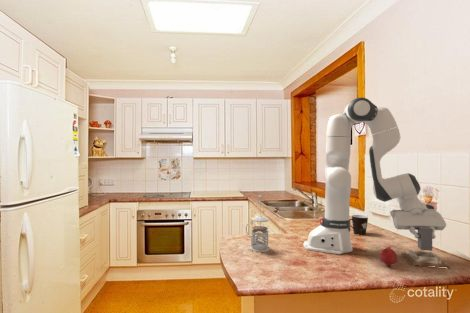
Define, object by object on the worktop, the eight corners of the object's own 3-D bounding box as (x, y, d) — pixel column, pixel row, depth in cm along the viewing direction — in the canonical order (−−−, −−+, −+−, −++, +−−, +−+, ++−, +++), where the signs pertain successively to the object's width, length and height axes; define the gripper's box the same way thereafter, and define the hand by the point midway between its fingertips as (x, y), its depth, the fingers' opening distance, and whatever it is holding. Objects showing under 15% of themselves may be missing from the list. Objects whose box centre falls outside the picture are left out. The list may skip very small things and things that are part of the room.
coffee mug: (364, 232, 166) (364, 215, 166) (370, 236, 158) (370, 218, 158) (344, 231, 167) (344, 214, 168) (348, 235, 159) (348, 217, 159)
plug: (421, 249, 117) (421, 228, 118) (417, 247, 121) (417, 225, 121) (432, 250, 116) (432, 228, 117) (428, 247, 120) (428, 226, 120)
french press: (269, 252, 127) (270, 197, 128) (244, 250, 130) (244, 196, 130) (271, 246, 137) (271, 194, 137) (247, 244, 139) (248, 193, 140)
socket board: (412, 265, 114) (412, 258, 114) (401, 254, 127) (401, 248, 127) (449, 269, 111) (449, 261, 111) (435, 257, 124) (435, 251, 124)
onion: (388, 269, 110) (388, 248, 110) (377, 264, 115) (377, 244, 115) (400, 268, 111) (400, 247, 111) (388, 262, 117) (388, 243, 117)
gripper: (391, 205, 127) (402, 233, 117) (439, 206, 125) (454, 234, 115) (386, 213, 131) (397, 241, 121) (433, 214, 130) (447, 242, 120)
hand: (425, 237), depth 118 cm, fingers closed on plug, 4 cm apart
